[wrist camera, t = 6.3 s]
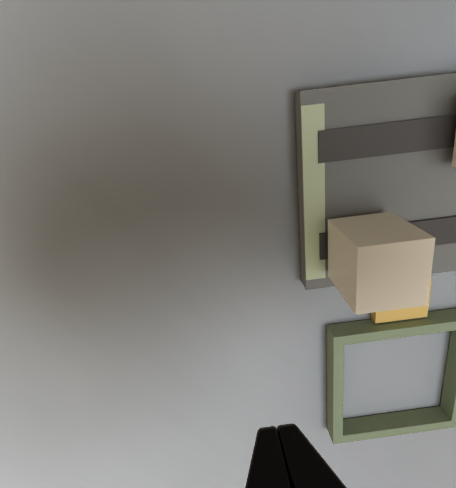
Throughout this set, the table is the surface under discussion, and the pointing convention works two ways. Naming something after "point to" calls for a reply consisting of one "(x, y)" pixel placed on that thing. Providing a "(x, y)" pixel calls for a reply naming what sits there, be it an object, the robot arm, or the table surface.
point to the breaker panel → (376, 162)
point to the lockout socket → (381, 328)
